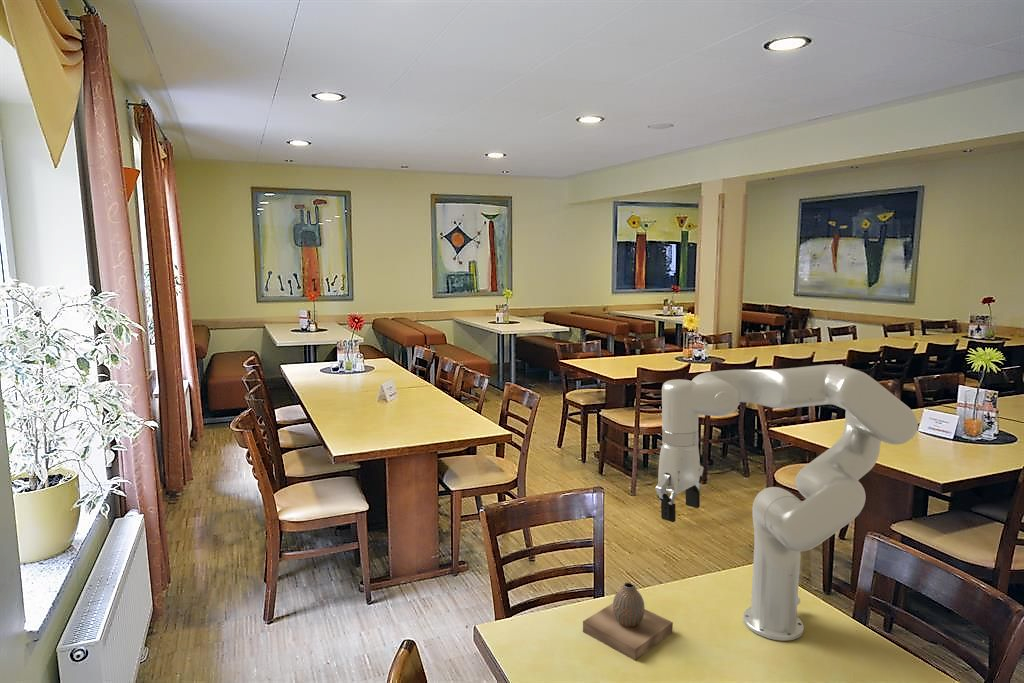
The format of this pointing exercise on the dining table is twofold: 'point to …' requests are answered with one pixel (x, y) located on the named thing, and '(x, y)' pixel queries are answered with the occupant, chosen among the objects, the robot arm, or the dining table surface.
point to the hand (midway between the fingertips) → (680, 513)
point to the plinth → (628, 632)
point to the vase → (628, 606)
